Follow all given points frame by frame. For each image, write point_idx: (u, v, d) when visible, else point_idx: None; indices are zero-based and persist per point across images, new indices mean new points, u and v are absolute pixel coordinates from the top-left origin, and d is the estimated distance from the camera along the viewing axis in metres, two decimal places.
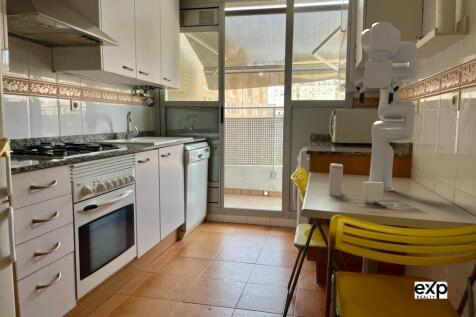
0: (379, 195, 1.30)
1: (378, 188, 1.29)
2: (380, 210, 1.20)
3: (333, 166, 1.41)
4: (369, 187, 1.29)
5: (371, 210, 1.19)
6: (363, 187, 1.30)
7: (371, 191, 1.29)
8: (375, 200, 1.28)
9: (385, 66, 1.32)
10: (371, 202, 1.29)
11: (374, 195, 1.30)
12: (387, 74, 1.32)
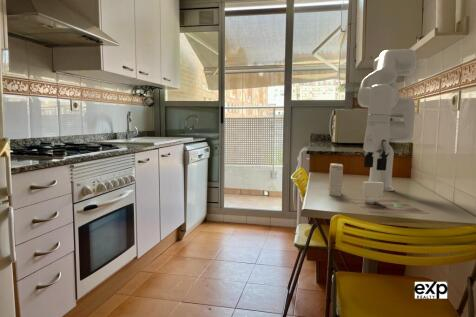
0: (379, 195, 1.30)
1: (378, 188, 1.29)
2: (380, 210, 1.20)
3: (333, 166, 1.41)
4: (369, 187, 1.29)
5: (371, 210, 1.19)
6: (363, 187, 1.30)
7: (371, 191, 1.29)
8: (375, 200, 1.28)
9: None
10: (371, 202, 1.29)
11: (374, 195, 1.30)
12: None
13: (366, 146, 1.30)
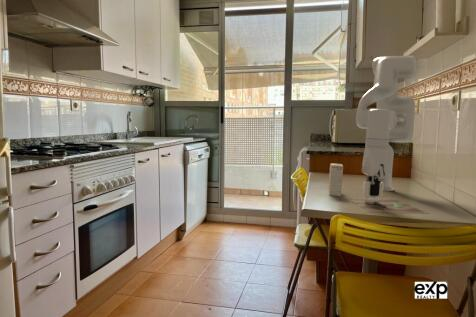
0: (379, 195, 1.30)
1: None
2: (380, 210, 1.20)
3: (333, 166, 1.41)
4: (369, 187, 1.29)
5: (371, 210, 1.19)
6: (363, 187, 1.30)
7: None
8: (375, 200, 1.28)
9: None
10: (371, 202, 1.29)
11: None
12: None
13: (364, 169, 1.31)
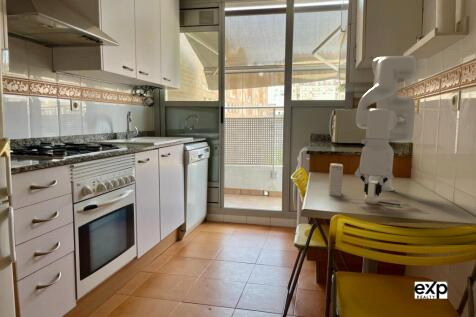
0: None
1: (376, 187, 1.31)
2: (380, 210, 1.20)
3: (333, 166, 1.41)
4: (375, 188, 1.28)
5: (371, 210, 1.19)
6: (370, 189, 1.27)
7: (375, 191, 1.29)
8: None
9: None
10: (377, 202, 1.29)
11: (375, 195, 1.30)
12: None
13: (370, 170, 1.27)
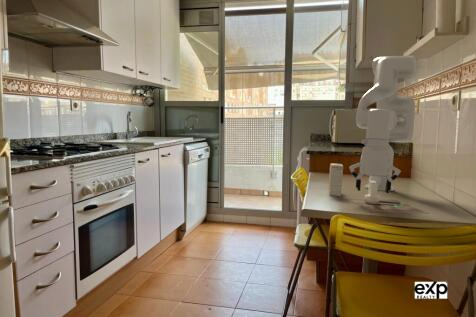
0: None
1: None
2: (380, 210, 1.20)
3: (333, 166, 1.41)
4: None
5: (371, 210, 1.19)
6: (374, 189, 1.27)
7: None
8: None
9: None
10: (378, 202, 1.29)
11: None
12: None
13: (370, 170, 1.27)
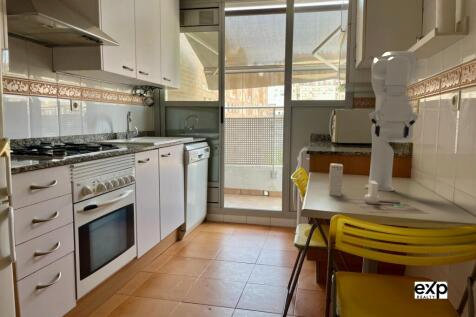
0: None
1: None
2: (380, 210, 1.20)
3: (333, 166, 1.41)
4: None
5: (371, 210, 1.19)
6: (374, 189, 1.27)
7: None
8: None
9: None
10: (378, 202, 1.29)
11: None
12: None
13: (389, 116, 1.34)
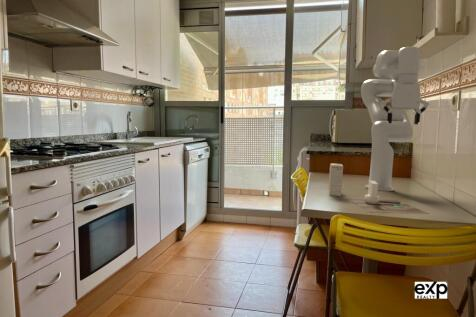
0: None
1: None
2: (380, 210, 1.20)
3: (333, 166, 1.41)
4: None
5: (371, 210, 1.19)
6: (374, 189, 1.27)
7: None
8: None
9: None
10: (378, 202, 1.29)
11: None
12: None
13: (401, 103, 1.40)
